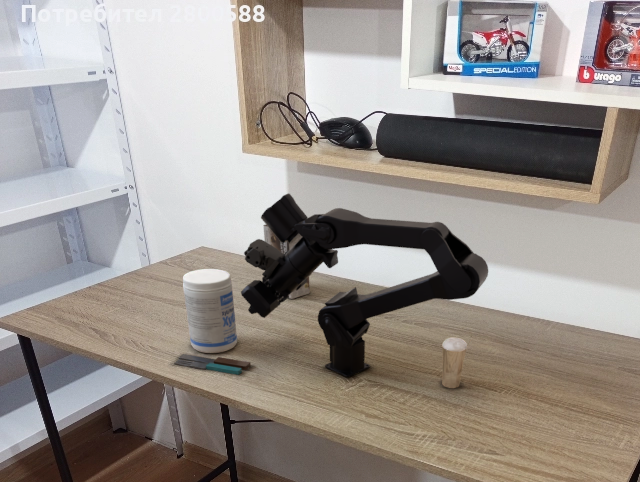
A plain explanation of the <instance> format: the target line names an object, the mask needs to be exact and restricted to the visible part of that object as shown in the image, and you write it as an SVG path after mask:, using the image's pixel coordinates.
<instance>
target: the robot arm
mask: <svg viewBox="0 0 640 482" xmlns="http://www.w3.org/2000/svg"><path fill="white" fill-rule="evenodd" d="M260 219H261V220H262V221H263V222H264V225H267V226H268V227H269V228H270V230H271V231H272V232H273V233H274V234H275V236H276V237H277V238H278V239H279V240H280V242H281V243H283V244H284V243H285V242H286V241H287V240H288V243H289V244H290V243H292V242H294V241H295V240H296V239H297V238H298V237H299V236H300V235H301V236H302V238H301V239H300V240H299V241H298V242H297V243H296V244H295V245H294V246H293V247H292V248H291V249H290V250H288V251H287V252H286V253H285V254H283V253H281V252H280V251H279V250H278V249H277V248H275V247H273V246H272V245H270V244H268V243H267V242H265V240H264V239H260V238H257V239H255V240H254V241H253V242H250V243H249V245H248V247H247V249H246V250H245V251H244V252H243V255H244V261H245V262H246V263H247V264H249V265H251V266H252V267H254V268H258V269H259V270H262V271H263V272H262V274H261V275H262V278H261V280H260V279H254V280H252V281H251V282H250V283H248V284H247V285H246V286H245V287H244V288H243V289H242V290H241V291H240V294H241V297H242V298H243V299H244V300H245V301H246V302H247V303H248V304H249V307H248V309H247V311H248V312H249V313H250V314H251V315H254V314H258V315H259V316H260V317H261V318H263V319H265V318H267V316H269V315H270V314H271V313H272V312H273V311H274V310H276V308H278V307H279V306H280V305H281V303H284V302H285V301H286V300H288V299H290V298H289V295H290V294H291V293H292V292H293V291H294V290H296V291H298V290H299V289H300V288H301V287H302V286H303V285H304V284H305V283H306V282H307V278H308V277H309V278H310V276H311V275H312V274H313V273H314V272H315V271H316V270H317V269H318V268H319V267H320V266H321V265H322V264H323V263H324V265H325V266H326V267H327V269H332V268H333V267H335V266H336V265H338V263H339V257H338V253H339V250H338V249H344V248H345V249H346V248H351V247H355V246H360V245H361V246H362V245H369V246H382V247H392V248H403V249H404V248H405V249H415V250H424V251H425V252H426V253H427V255H429V257H430V260H431V261H432V263H433V266H434V267H435V269H436V271H434V272H433V273H431V274H427V275H424V276H421V277H418V278H414V279H412V280H411V279H410V280H409V281H405V282H402V283H399V284H396V285H393V286H390V287H387V288H383V289H381V290H377V291H374V292H371V293H368V294H361V293H358V290H357V287H356V286H355V287H353V288H351V289H349V290H347V291H338V292H337V293H336V294H335V295H333V296H332V297H331V298H330V299H329V300H327V301H326V302H325V303H324V306H323V307H322V308H321V309H320V310H319V311H318V314H317V322H318V326H319V327H320V329H321V330H322V333H323V335H324V338H325V341H326V344H327V345H328V346H329V362H327V363H326V364H325V365H324V368H325V369H327V370H329V371H331V372H334V373H336V374H338V375H341V376H342V377H345V378H351V377H353V376H355V375H357V374H359V373H362V372H364V371H366V370H368V369H371V364H368V363H366V362H365V361H366V359H365V357H366V354H365V353H366V340H364V339H363V336H364V335H365V334H367V333H368V331H369V329H370V326H371V323H370V322H369V320H368V319H371V318H374V317H378V316H381V315H384V314H387V313H391V312H395V311H398V310H400V309H405V308H408V307H411V306H414V305H418V304H421V303H425V302H427V301H431V300H446V301H451V300H460V299H461V300H462V299H468V298H470V297H472V296H474V295H475V294H476V293H477V292H478V290H479V289H480V288H481V287H482V286H483V284H484V283H485V282H486V280H487V278H488V276H489V266H488V265H489V264H487V262H486V261H487V260H485V258H483V257H482V256H480V255H478V254H477V253H474V251H473V250H472V249H471V248H470V246H468V244H467V243H465V242H464V241H463V240H462V239H460V237H457V235H455V234H454V233H453V232H452V231H451V230H450V228H449V227H448V226H447V225H446V224H444V223H443V222H441V221H434V222H425V221H413V220H412V221H411V220H399V219H386V218H385V219H384V218H371V217H367V216H364V215H363V214H361V213H359V212H357V211H354V210H350V209H346V208H342V207H337V208H333V209H331V210H329V211H327V212H326V213H316V214H313V215H311V216H309V217H308V215H306V214H305V212H304V211H303V210H302V208H301V207H300V206H299V205H298V204H297V202H296V200H295V199H294V197H293V196H292V195H291V193H289V192H288V193H286V194H283V195H282V196H281V197H280V198H279V199H278V200H277V201H275V202H274V203H273V204H272V205H271V206H270V207H267V208H266V209H265V210H264V212H263V213H262V214H261V215H260Z"/></svg>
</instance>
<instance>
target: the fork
mask: <svg viewBox="0 0 640 482" xmlns="http://www.w3.org/2000/svg"><path fill="white" fill-rule="evenodd" d="M173 364H174V365H176V366H182V367H188V368H191V369H197V370H204V371H206V370H207V371H214V372H220V373H225V374H230V375H231V374H232V375H237V376H239V375H241V374H242V373H243V370H242V368H237V367H231V366H225V365H219V364H213V363H209V364H207V363H201V362H195V361H189V360H183V359H179V358H178V360H176V361H174V362H173Z"/></svg>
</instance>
